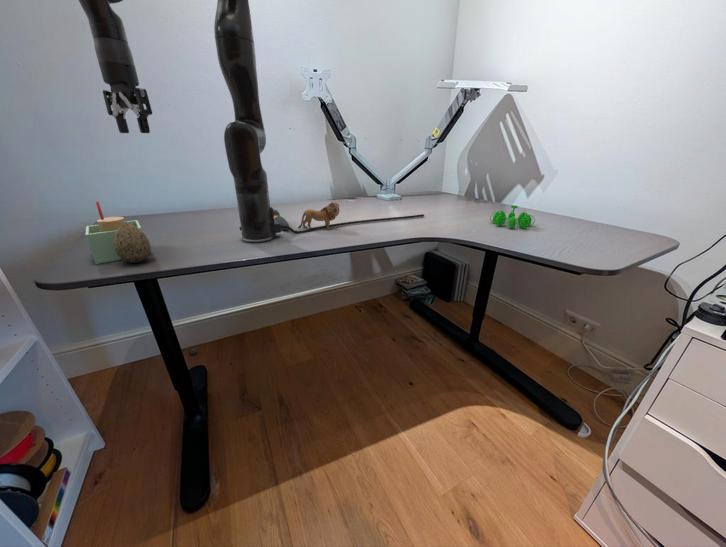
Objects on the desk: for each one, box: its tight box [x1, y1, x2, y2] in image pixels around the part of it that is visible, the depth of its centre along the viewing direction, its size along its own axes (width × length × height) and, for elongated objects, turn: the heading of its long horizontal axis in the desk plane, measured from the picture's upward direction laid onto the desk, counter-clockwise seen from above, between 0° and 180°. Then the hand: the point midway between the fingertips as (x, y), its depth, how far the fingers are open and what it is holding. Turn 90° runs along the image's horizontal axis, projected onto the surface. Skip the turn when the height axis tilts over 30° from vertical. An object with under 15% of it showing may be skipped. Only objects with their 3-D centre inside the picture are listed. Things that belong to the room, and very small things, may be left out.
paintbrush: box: [273, 208, 290, 231], centre depth 112 cm, size 20×5×5 cm, turn 38°
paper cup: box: [95, 201, 126, 232], centre depth 81 cm, size 6×6×14 cm
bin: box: [84, 219, 143, 265], centre depth 82 cm, size 11×10×8 cm
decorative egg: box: [114, 223, 151, 264], centre depth 76 cm, size 7×7×10 cm
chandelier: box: [489, 205, 536, 230], centre depth 114 cm, size 15×15×7 cm
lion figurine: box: [297, 201, 341, 231], centre depth 107 cm, size 15×5×9 cm, turn 103°
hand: (134, 133), depth 85 cm, fingers open, 8 cm apart
